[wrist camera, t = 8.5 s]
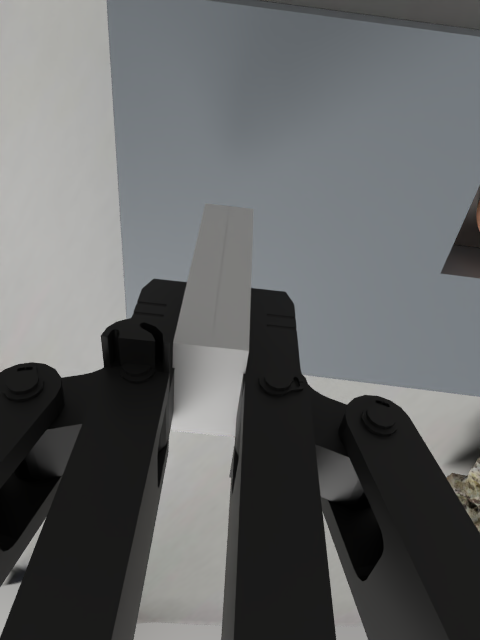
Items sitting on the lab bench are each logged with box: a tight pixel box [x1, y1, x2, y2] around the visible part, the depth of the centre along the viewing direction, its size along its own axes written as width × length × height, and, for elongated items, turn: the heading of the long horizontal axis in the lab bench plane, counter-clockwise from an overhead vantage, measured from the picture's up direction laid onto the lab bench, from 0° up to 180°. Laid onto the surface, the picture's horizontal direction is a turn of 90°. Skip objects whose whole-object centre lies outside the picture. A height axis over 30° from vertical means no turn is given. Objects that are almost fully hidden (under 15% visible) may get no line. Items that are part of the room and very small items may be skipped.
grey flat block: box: [107, 0, 480, 397], centre depth 20 cm, size 24×16×5 cm, turn 84°
